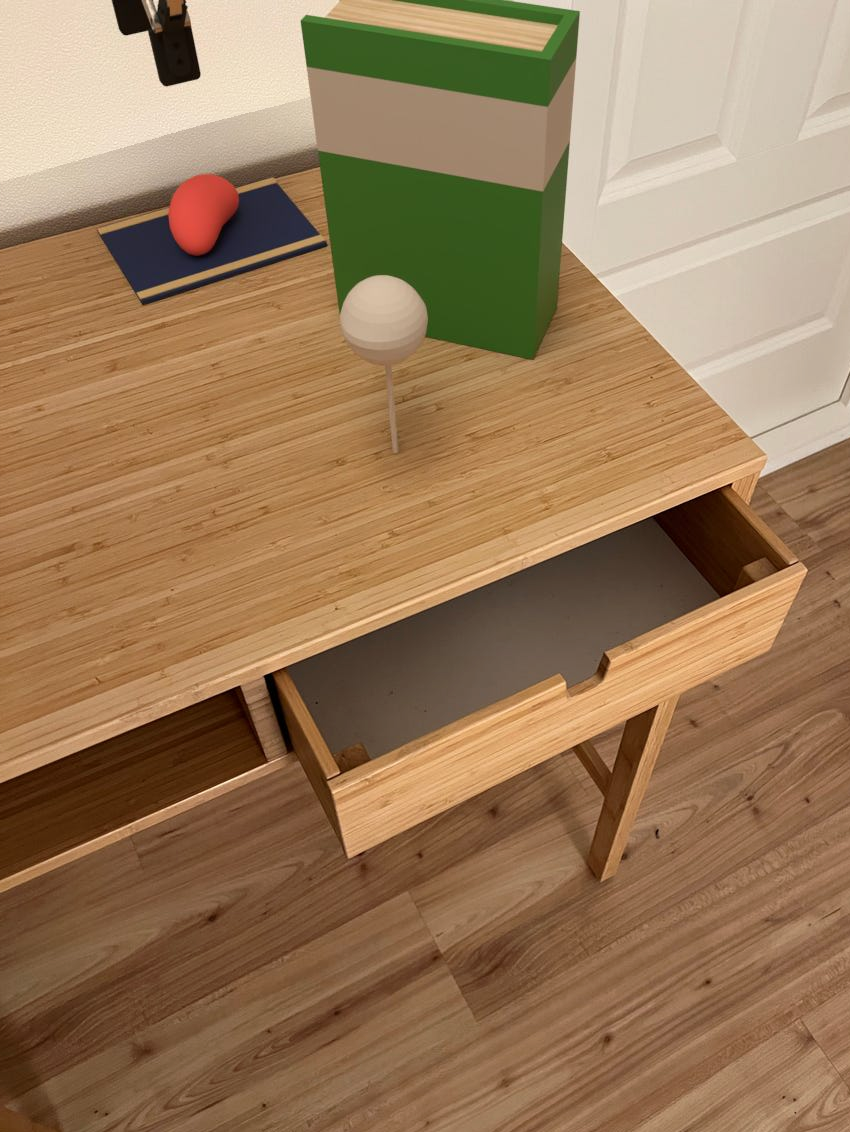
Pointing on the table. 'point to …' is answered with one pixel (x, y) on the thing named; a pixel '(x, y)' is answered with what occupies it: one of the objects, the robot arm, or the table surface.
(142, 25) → the robot arm
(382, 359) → the lollipop
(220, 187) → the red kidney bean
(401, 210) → the hardback book
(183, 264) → the cloth
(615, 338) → the table surface
